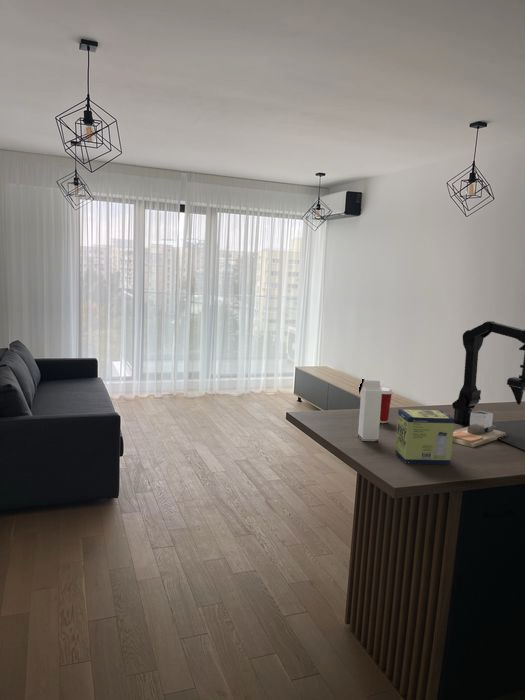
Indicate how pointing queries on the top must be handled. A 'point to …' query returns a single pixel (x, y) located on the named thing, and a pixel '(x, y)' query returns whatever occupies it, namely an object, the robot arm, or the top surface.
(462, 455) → the top surface
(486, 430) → the bench vise
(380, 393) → the milk
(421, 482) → the top surface
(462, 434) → the board
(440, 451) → the protein box
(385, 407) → the paper cup
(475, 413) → the steel collar
